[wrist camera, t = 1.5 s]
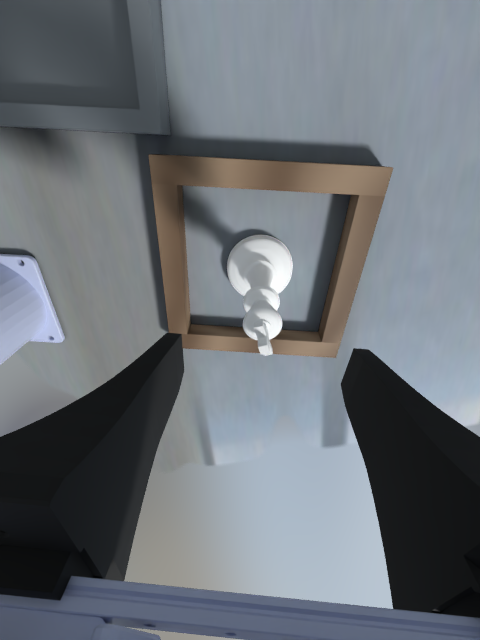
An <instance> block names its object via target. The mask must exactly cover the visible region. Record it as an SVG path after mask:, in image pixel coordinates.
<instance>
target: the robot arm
mask: <svg viewBox="0 0 480 640" xmlns="http://www.w3.org/2000/svg"><path fill="white" fill-rule="evenodd" d="M21 260H22V261H23V262H24V264H23V263H22V262H21ZM64 339H65V337H64V334H63V331H62V328H61V326H60V323H59V320H58V318H57V315H56V312H55V309H54V307H53V304H52V301H51V299H50V296H49V293H48V290H47V288H46V285H45V282H44V280H43V277H42V274H41V272H40V269H39V266H38V263H37V261H36V260H35V259H34V258H33V257H32V256H28V255H12V254H0V365H1V364H2V363H3V362H4V361H5V360H7V359H8V358H9V357H10V356H11V355H12V354H14V353H15V352H16V351H17V350H18V349H20V348H21V347H22V346H23V345H24V344H25V343H27V342H28V341H40V342H56V343H60V342H62V341H63V340H64ZM183 373H184V361H183V347H182V334H177V333H166V334H165V335H164V336H163V337H162V338H160V339H159V340H158V341H157V342H156V343H155V344H154V345H153V346H151V347H150V348H149V349H148V350H147V351H146V352H145V353H143V354H142V355H141V356H140V357H139V358H138V359H136V360H135V361H134V362H133V363H132V364H130V365H129V366H128V367H126V368H125V369H124V370H122V371H121V372H120V373H119V374H117V375H116V376H115V377H113V378H112V379H110V380H109V381H107V382H106V383H104V384H103V385H101V386H100V387H98V388H97V389H95V390H94V391H92V392H90V393H89V394H87V395H85V396H84V397H82V398H80V399H78V400H76V401H75V402H73V403H71V404H69V405H67V406H66V407H64V408H62V409H60V410H58V411H57V412H54V413H52V414H51V415H49V416H46V417H44V418H43V419H40V420H38V421H36V422H34V423H32V424H30V425H27V426H25V427H23V428H21V429H18V430H16V431H14V432H12V433H9V434H6V435H4V436H2V437H0V640H161V639H160V637H159V636H158V635H155V634H151V633H147V632H143V631H139V630H135V629H130V628H127V627H132V628H142V629H150V630H160V631H169V632H178V633H188V634H197V635H206V636H216V637H225V638H235V639H244V640H480V437H479V436H477V435H476V434H474V433H473V432H471V431H470V430H468V429H467V428H465V427H464V426H463V425H461V424H460V423H458V422H457V421H455V420H454V419H452V418H451V417H450V416H448V415H447V414H445V413H444V412H443V411H441V410H440V409H439V408H437V407H436V406H435V405H433V404H432V403H431V402H430V401H428V400H427V399H426V398H425V397H423V396H422V395H421V394H420V393H418V392H417V391H416V390H415V389H414V388H412V387H411V386H410V385H409V384H408V383H406V382H405V381H404V380H403V379H402V378H401V377H400V376H398V375H397V374H396V373H395V372H394V371H393V370H392V369H390V368H389V367H388V366H387V365H386V364H385V363H384V362H383V361H381V360H380V359H379V358H378V357H377V356H376V355H375V354H373V353H372V352H371V351H370V350H366V349H355V348H354V349H353V352H352V355H351V357H350V360H349V363H348V366H347V368H346V371H345V374H344V377H343V379H342V382H341V387H342V393H343V398H344V402H345V407H346V410H347V413H348V416H349V419H350V422H351V425H352V427H353V430H354V433H355V436H356V439H357V442H358V445H359V447H360V450H361V453H362V456H363V459H364V462H365V465H366V468H367V473H368V477H369V481H370V485H371V489H372V494H373V498H374V503H375V507H376V512H377V517H378V521H379V526H380V531H381V537H382V542H383V547H384V552H385V558H386V564H387V571H388V577H389V583H390V589H391V596H392V603H393V609H387V608H377V607H368V606H367V607H366V606H358V605H348V604H338V603H328V602H318V601H309V600H299V599H290V598H280V597H271V596H261V595H251V594H241V593H232V592H222V591H213V590H203V589H193V588H184V587H174V586H164V585H154V584H145V583H135V582H125V581H124V579H125V574H126V570H127V565H128V561H129V556H130V552H131V548H132V543H133V538H134V535H135V530H136V526H137V522H138V518H139V514H140V510H141V506H142V502H143V498H144V495H145V491H146V487H147V483H148V479H149V476H150V472H151V468H152V465H153V461H154V458H155V454H156V451H157V448H158V445H159V442H160V439H161V436H162V434H163V431H164V429H165V426H166V424H167V421H168V418H169V416H170V413H171V411H172V408H173V406H174V403H175V400H176V398H177V395H178V392H179V389H180V385H181V381H182V377H183Z"/></svg>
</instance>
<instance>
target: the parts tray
mask: <svg viewBox="0 0 480 640" xmlns="http://www.w3.org/2000/svg"><path fill="white" fill-rule="evenodd" d="M0 127H16V128H35V129H54V130H73V131H92V132H111V133H130V134H150V135H169V136H171V131H170V117H169V104H168V91H167V77H166V64H165V51H164V38H163V24H162V11H161V0H0Z"/></svg>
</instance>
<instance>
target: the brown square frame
mask: <svg viewBox="0 0 480 640" xmlns="http://www.w3.org/2000/svg"><path fill="white" fill-rule="evenodd" d="M149 164H150V173H151V181H152V190H153V199H154V207H155V216H156V225H157V233H158V242H159V251H160V259H161V268H162V277H163V285H164V294H165V303H166V311H167V320H168V329H169V333H177V334H182V347H183V348H186V349H203V350H219V351H235V352H251V353H260V352H259V349H258V340H254V339H252V338H250V337H249V336H248V335H247V334H246V333H245V331H244V329H243V327H229V326H212V325H196V324H191V319H190V303H189V287H188V271H187V254H186V238H185V222H184V206H183V190H182V185H186V186H204V187H222V188H241V189H259V190H277V191H295V192H314V193H332V194H350V195H351V197H350V201H349V206H348V210H347V214H346V218H345V222H344V226H343V230H342V235H341V239H340V243H339V247H338V251H337V255H336V260H335V264H334V268H333V272H332V276H331V280H330V284H329V289H328V293H327V297H326V301H325V305H324V309H323V313H322V318H321V322H320V326H319V330H318V332H311V331H295V330H281V331H280V332H279V334H278V335H277V336H276V337H274V338H272V339H270V343H271V346H272V350H273V354H283V355H300V356H316V357H332V358H336V356H337V353H338V349H339V346H340V343H341V339H342V336H343V333H344V329H345V326H346V323H347V319H348V316H349V313H350V310H351V306H352V303H353V300H354V296H355V293H356V290H357V286H358V283H359V280H360V277H361V273H362V270H363V267H364V263H365V260H366V257H367V253H368V250H369V247H370V243H371V240H372V237H373V234H374V230H375V227H376V224H377V220H378V217H379V214H380V210H381V207H382V204H383V200H384V197H385V194H386V191H387V187H388V184H389V181H390V177H391V174H392V171H393V168H392V167H384V166H368V165H349V164H330V163H311V162H293V161H274V160H255V159H236V158H218V157H199V156H180V155H161V154H150V155H149Z"/></svg>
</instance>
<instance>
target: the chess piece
mask: <svg viewBox="0 0 480 640" xmlns="http://www.w3.org/2000/svg"><path fill="white" fill-rule="evenodd" d="M292 268H293V263H292V257H291V254H290V252H289V250H288V249H287V247H286V246H285V245H284V244H283V243H282V242H281V241H279V240H278V239H276V238H274V237H272V236H268V235H253V236H249V237H247V238H245V239H243V240H241V241H240V242H239V243H237V244H236V245H235V247H234V248H233V249H232V251H231V252H230V254H229V257H228V261H227V272H228V277H229V280H230V282H231V284H232V286H233V287H234V288H235V289H236V291H238V292H239V293H240V294H242V295H243V296H244V298H243V306H244V309H245V310H246V312H247V313H246V315H245V317H244V319H243V329H244V331H245V333H246V334H247V335H248V336H249V337H250V338H252V339H254V340H258V349H259V352H260V354H264V356H266V355H271V354H273V350H272V346H271V343H270V339H272V338H274V337H276V336H277V335H278V334H279V332H280V331H281V328H282V319H281V316H280V314H279V313H278V312H277V309H278V307H279V304H280V299H279V296H278V294H279V293H280V292H281V291H282V290H283V289H284V288H285V287H286V286H287V284H288V283H289V281H290V279H291V275H292Z"/></svg>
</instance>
